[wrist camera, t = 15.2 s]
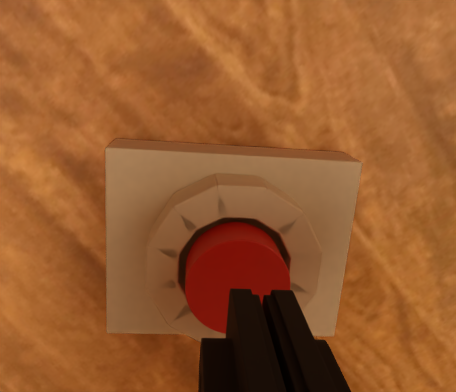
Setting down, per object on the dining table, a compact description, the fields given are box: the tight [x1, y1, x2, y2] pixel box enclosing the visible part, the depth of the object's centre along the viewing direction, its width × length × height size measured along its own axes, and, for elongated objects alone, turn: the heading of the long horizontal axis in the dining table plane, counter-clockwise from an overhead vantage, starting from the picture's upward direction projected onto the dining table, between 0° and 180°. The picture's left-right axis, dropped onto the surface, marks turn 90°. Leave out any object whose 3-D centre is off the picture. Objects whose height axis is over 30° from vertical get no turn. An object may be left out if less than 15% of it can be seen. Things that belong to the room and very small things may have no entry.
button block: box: [105, 139, 363, 343], centre depth 17 cm, size 10×8×4 cm
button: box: [185, 222, 291, 334], centre depth 15 cm, size 4×4×2 cm
